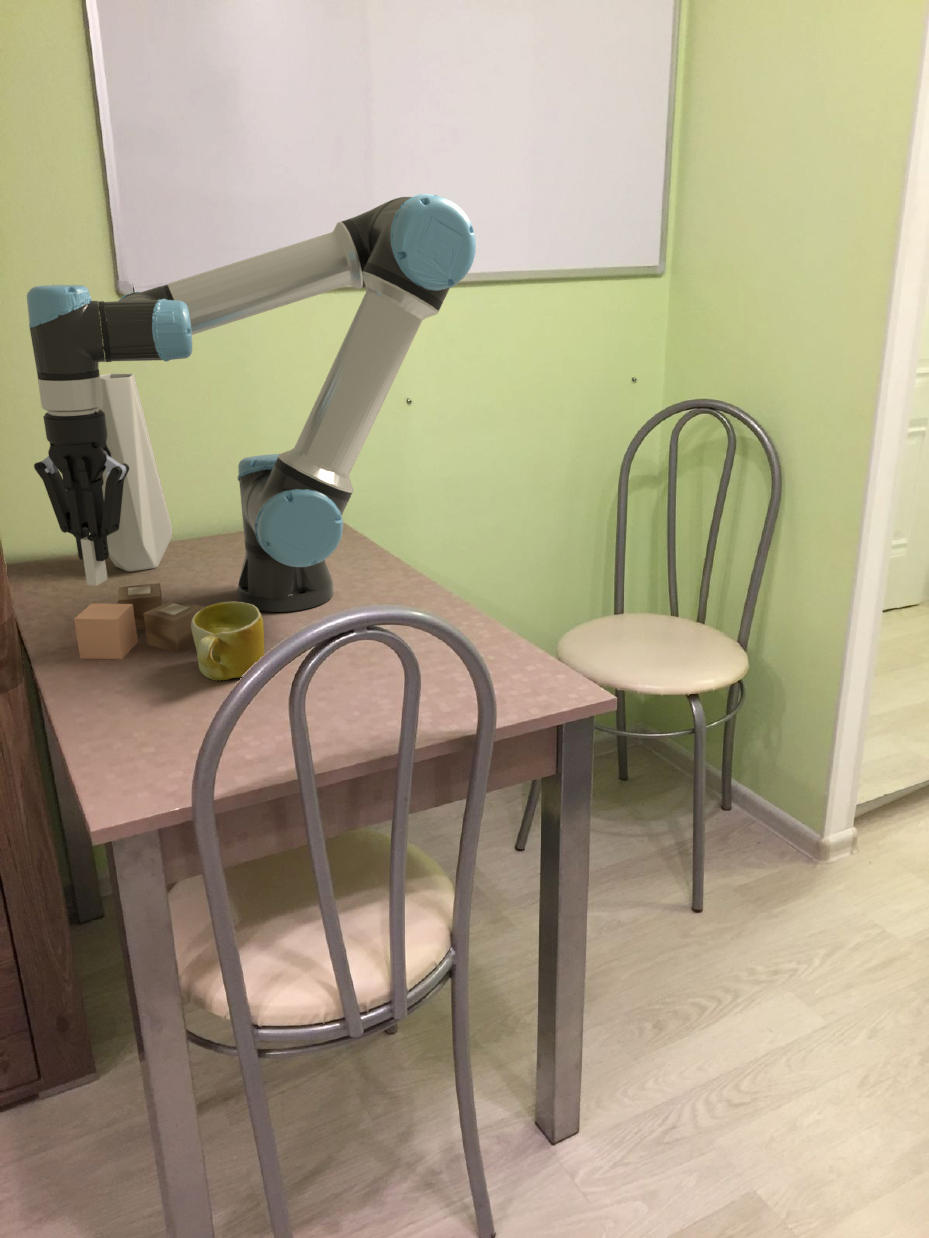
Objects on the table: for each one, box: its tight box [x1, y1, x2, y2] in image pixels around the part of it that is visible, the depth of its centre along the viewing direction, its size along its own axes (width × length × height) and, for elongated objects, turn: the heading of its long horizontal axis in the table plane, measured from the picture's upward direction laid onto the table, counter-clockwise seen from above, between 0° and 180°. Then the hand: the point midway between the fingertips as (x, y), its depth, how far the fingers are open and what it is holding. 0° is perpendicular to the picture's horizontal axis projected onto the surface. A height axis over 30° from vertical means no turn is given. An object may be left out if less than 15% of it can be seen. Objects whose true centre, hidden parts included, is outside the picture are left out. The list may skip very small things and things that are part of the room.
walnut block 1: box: [117, 582, 164, 630], centre depth 153 cm, size 6×6×5 cm
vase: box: [99, 372, 173, 573], centre depth 174 cm, size 12×12×33 cm
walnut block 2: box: [143, 599, 206, 653], centre depth 145 cm, size 6×6×5 cm
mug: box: [191, 600, 265, 682], centre depth 135 cm, size 12×10×10 cm
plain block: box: [73, 602, 139, 660], centre depth 143 cm, size 6×6×6 cm
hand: (97, 582), depth 140 cm, fingers closed
